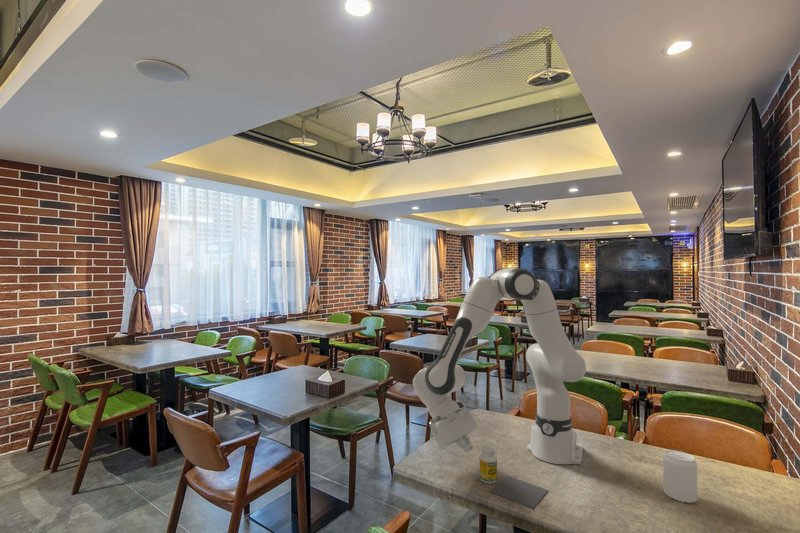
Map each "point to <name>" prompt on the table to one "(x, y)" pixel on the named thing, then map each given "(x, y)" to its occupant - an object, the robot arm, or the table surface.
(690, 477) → the beverage can
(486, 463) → the supplement bottle
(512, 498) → the rubber mat
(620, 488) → the table surface
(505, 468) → the table surface
